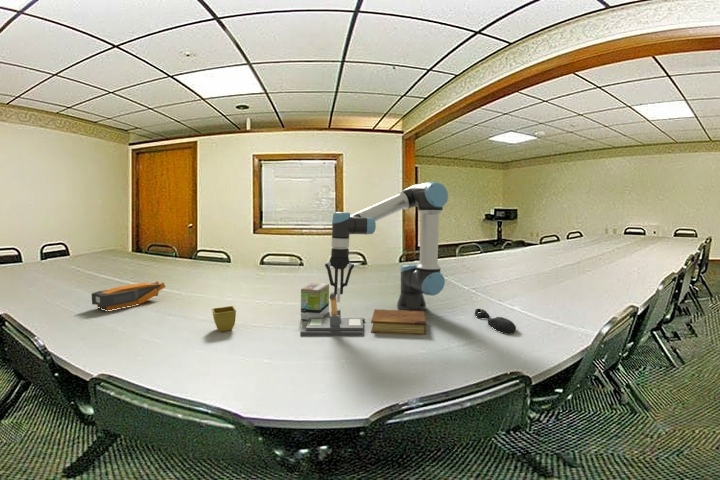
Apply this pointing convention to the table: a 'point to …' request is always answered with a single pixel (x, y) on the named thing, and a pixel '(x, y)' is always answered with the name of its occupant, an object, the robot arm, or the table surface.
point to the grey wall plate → (332, 333)
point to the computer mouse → (497, 322)
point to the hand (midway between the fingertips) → (338, 301)
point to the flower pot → (224, 318)
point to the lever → (333, 303)
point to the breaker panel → (335, 323)
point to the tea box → (314, 301)
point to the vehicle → (126, 295)
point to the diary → (398, 322)
